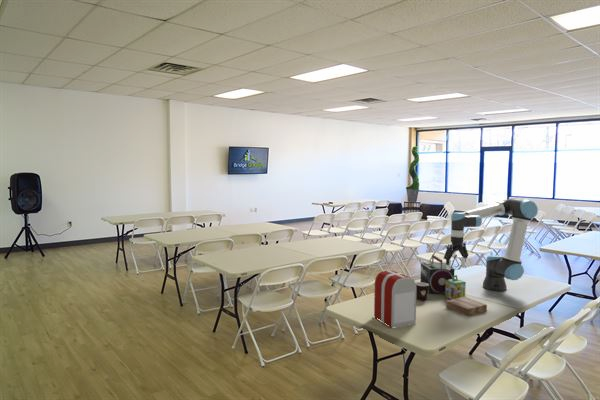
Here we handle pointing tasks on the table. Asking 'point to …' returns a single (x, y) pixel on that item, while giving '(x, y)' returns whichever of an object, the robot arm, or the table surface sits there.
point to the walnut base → (466, 306)
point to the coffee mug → (421, 291)
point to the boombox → (436, 275)
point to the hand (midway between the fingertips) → (455, 268)
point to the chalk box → (455, 288)
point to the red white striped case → (395, 298)
